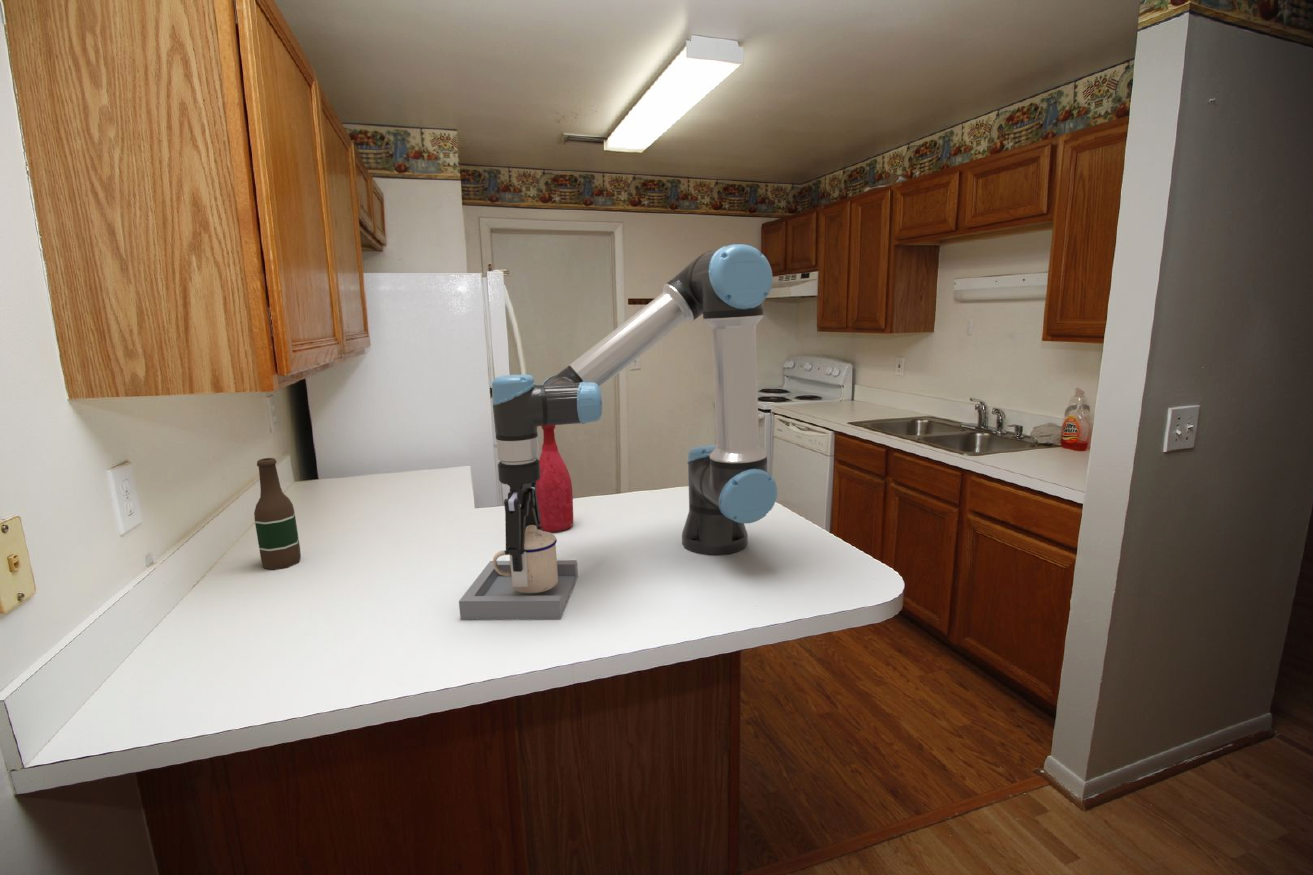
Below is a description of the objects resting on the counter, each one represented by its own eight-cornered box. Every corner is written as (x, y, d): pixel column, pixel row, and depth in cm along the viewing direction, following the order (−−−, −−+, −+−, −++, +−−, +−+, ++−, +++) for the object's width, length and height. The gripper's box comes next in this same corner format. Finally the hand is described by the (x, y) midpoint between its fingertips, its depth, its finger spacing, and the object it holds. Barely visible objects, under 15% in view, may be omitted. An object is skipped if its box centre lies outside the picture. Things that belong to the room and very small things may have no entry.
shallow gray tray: (577, 576, 126) (576, 560, 125) (560, 618, 108) (559, 600, 107) (491, 576, 127) (490, 560, 126) (460, 619, 109) (458, 601, 108)
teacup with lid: (558, 572, 122) (554, 516, 120) (560, 591, 113) (556, 531, 111) (496, 578, 120) (491, 522, 117) (493, 599, 111) (488, 538, 109)
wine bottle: (566, 534, 150) (559, 414, 144) (529, 532, 152) (520, 413, 146) (579, 521, 159) (573, 407, 153) (543, 519, 161) (536, 407, 155)
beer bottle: (307, 562, 137) (291, 458, 132) (267, 573, 131) (250, 465, 127) (295, 553, 142) (280, 453, 137) (257, 564, 137) (240, 459, 132)
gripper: (514, 447, 123) (522, 553, 127) (479, 475, 102) (490, 601, 106) (551, 446, 122) (558, 552, 127) (523, 474, 101) (533, 600, 106)
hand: (527, 574), depth 116 cm, fingers closed on teacup with lid, 9 cm apart
